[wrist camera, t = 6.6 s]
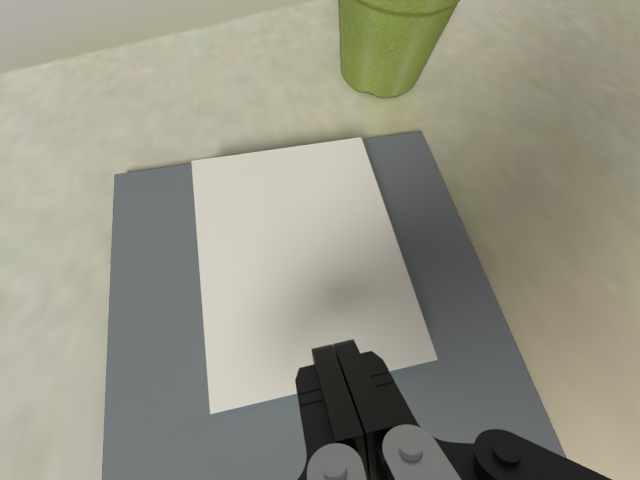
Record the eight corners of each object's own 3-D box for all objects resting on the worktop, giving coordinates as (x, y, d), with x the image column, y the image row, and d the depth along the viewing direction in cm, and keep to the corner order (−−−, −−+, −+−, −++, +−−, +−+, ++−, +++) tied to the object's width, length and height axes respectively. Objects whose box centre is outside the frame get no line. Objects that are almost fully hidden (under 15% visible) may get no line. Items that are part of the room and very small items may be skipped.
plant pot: (299, 51, 27) (297, -90, 19) (396, 22, 29) (430, -115, 21) (356, 132, 24) (383, 1, 16) (461, 92, 26) (529, -39, 18)
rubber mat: (121, 182, 21) (114, 174, 20) (417, 139, 24) (421, 131, 23) (107, 602, 13) (96, 615, 12) (559, 466, 16) (571, 470, 15)
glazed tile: (220, 412, 15) (200, 179, 20) (424, 363, 17) (356, 156, 22) (210, 414, 14) (191, 161, 19) (438, 359, 15) (361, 137, 20)
